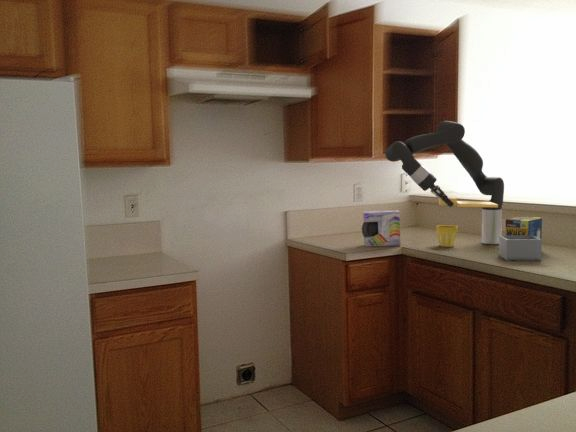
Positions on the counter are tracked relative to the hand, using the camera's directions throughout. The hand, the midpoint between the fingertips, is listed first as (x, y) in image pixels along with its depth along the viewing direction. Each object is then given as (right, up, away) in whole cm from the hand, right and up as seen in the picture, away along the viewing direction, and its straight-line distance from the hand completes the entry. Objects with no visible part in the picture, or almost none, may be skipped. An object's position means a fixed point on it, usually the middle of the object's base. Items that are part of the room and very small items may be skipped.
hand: (451, 205), depth 241 cm
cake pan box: (-24, -20, +39) cm, 50 cm away
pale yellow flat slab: (+6, 0, -1) cm, 6 cm away
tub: (+28, -23, -4) cm, 37 cm away
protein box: (+36, -21, +11) cm, 43 cm away
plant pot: (+8, -20, +33) cm, 39 cm away
